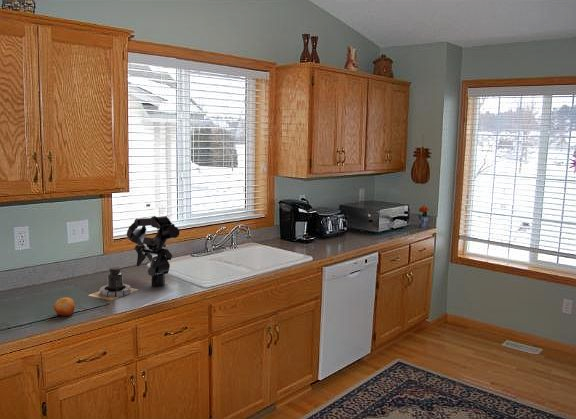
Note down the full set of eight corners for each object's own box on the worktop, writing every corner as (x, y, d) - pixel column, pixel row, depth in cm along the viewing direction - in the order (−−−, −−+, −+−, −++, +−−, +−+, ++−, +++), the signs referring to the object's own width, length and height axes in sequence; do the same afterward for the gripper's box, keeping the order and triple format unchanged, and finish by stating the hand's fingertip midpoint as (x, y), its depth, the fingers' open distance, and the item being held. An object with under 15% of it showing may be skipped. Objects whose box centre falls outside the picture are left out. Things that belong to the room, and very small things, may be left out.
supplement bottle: (123, 290, 243) (123, 265, 241) (123, 294, 236) (122, 269, 234) (108, 291, 241) (107, 266, 239) (107, 295, 234) (106, 270, 233)
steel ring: (114, 286, 247) (114, 282, 247) (136, 291, 242) (136, 286, 241) (93, 294, 235) (93, 289, 235) (115, 299, 230) (115, 294, 229)
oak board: (116, 286, 250) (116, 285, 250) (138, 291, 244) (138, 289, 244) (87, 296, 234) (87, 295, 234) (111, 302, 228) (111, 300, 228)
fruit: (79, 306, 217) (75, 294, 212) (74, 321, 211) (69, 309, 206) (60, 306, 217) (55, 293, 212) (54, 321, 211) (49, 308, 206)
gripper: (136, 228, 242) (120, 255, 234) (168, 232, 235) (152, 260, 226) (147, 241, 251) (132, 268, 242) (178, 245, 243) (164, 273, 235)
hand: (145, 267), depth 236 cm, fingers open, 9 cm apart
